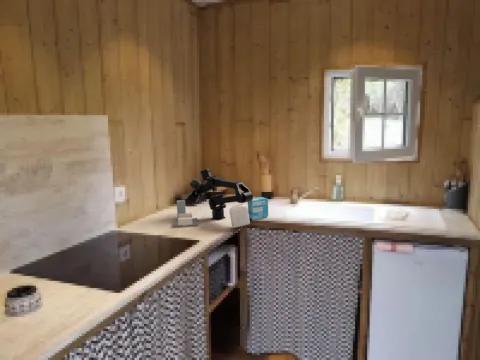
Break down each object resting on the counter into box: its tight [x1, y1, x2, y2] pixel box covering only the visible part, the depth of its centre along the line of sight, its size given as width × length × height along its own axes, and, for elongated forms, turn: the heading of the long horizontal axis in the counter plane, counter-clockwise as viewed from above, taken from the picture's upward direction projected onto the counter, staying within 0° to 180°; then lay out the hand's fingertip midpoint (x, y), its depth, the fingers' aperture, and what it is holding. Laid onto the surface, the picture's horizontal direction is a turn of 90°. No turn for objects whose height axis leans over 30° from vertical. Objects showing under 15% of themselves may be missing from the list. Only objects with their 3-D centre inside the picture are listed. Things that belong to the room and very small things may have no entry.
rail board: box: [172, 212, 199, 228], centre depth 225 cm, size 14×15×4 cm
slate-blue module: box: [176, 199, 187, 219], centre depth 238 cm, size 5×4×11 cm
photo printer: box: [229, 203, 251, 229], centre depth 212 cm, size 10×4×12 cm, turn 101°
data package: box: [247, 196, 269, 221], centre depth 231 cm, size 12×4×12 cm, turn 123°
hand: (188, 196), depth 245 cm, fingers open, 9 cm apart
